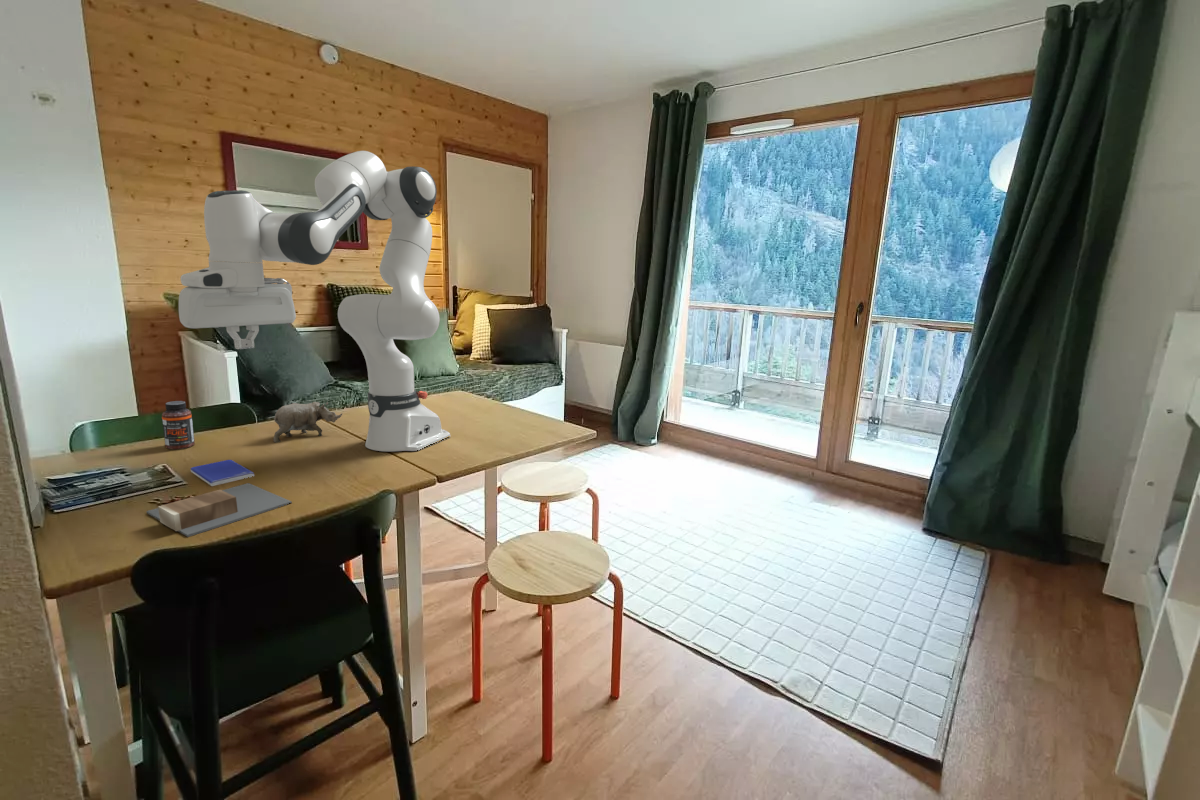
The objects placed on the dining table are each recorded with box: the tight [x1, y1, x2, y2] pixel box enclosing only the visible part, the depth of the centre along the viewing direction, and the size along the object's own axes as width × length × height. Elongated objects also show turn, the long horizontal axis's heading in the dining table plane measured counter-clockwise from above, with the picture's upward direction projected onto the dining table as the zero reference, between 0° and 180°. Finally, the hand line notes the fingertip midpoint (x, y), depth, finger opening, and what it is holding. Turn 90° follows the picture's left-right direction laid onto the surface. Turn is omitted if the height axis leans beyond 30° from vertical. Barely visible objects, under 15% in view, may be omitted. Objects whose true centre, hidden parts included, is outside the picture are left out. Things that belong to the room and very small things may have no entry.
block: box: [157, 489, 238, 532], centre depth 103 cm, size 3×6×10 cm
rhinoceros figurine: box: [272, 401, 343, 444], centre depth 153 cm, size 8×14×15 cm
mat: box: [146, 482, 292, 538], centre depth 108 cm, size 18×16×1 cm
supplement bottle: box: [161, 400, 196, 450], centre depth 140 cm, size 6×6×11 cm
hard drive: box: [190, 459, 255, 487], centre depth 125 cm, size 2×8×12 cm
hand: (244, 348), depth 113 cm, fingers closed
